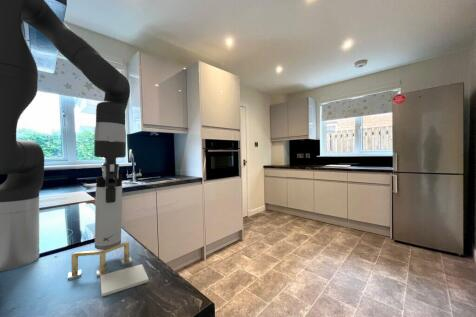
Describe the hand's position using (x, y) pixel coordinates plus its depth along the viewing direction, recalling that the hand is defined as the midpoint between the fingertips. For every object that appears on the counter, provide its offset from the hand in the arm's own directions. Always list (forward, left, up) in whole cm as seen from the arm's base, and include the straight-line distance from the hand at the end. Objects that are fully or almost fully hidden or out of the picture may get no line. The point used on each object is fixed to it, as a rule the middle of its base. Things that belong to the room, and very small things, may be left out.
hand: (109, 199), depth 58 cm
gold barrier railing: (-2, -6, -17) cm, 18 cm away
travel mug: (0, 0, -13) cm, 13 cm away
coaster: (+2, -14, -17) cm, 21 cm away
